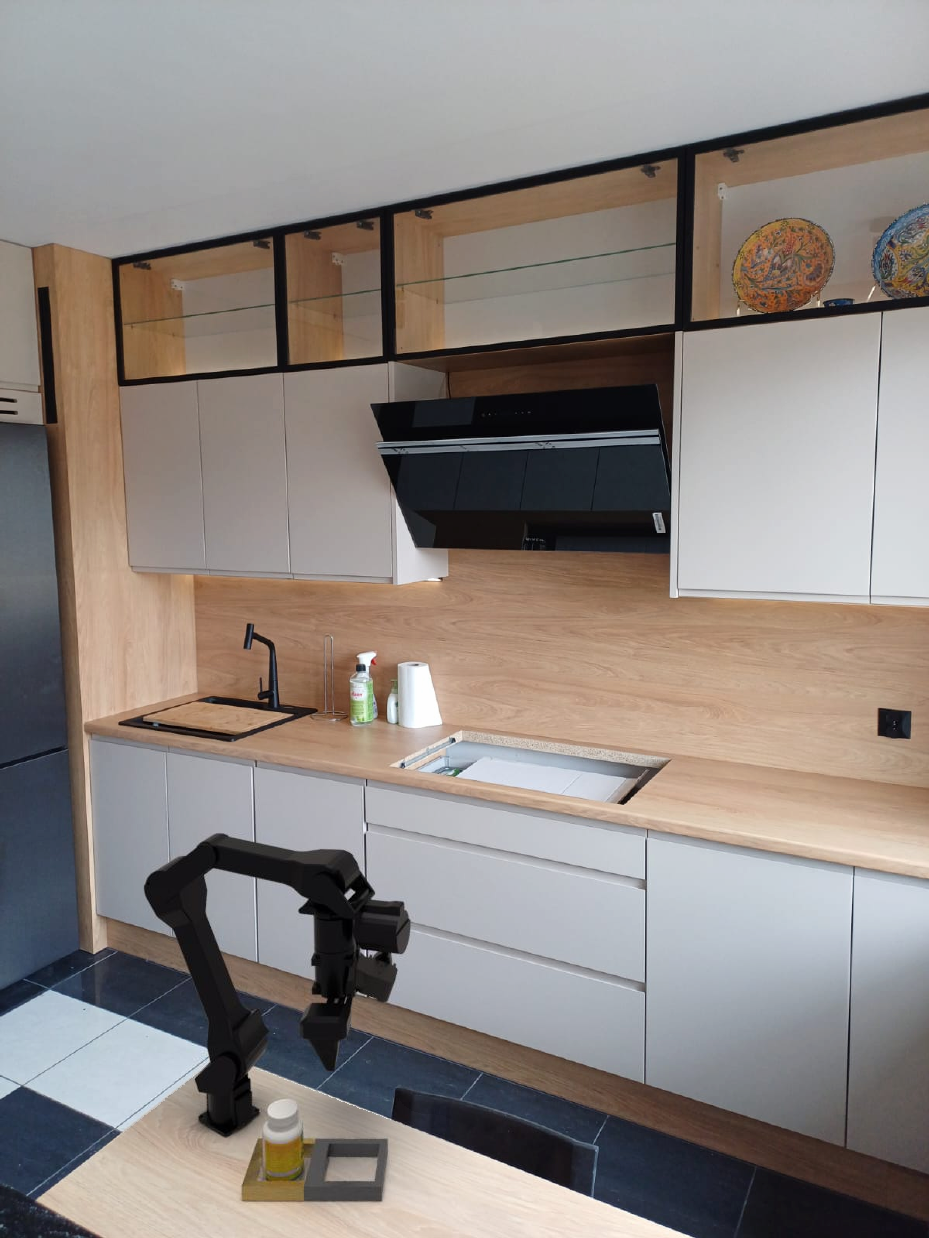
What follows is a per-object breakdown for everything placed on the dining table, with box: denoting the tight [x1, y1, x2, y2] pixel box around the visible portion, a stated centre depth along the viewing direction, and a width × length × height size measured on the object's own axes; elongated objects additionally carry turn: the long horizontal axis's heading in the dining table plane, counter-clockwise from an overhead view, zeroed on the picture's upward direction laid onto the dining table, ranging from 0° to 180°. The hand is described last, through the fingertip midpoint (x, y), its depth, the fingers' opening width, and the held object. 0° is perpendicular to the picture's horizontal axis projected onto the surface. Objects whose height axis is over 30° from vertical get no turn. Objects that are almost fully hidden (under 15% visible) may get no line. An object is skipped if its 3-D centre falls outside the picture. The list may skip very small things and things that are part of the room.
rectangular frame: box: [240, 1137, 389, 1202], centre depth 117 cm, size 18×9×2 cm, turn 90°
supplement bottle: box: [261, 1098, 305, 1181], centre depth 117 cm, size 5×5×10 cm
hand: (337, 1050), depth 123 cm, fingers open, 9 cm apart
